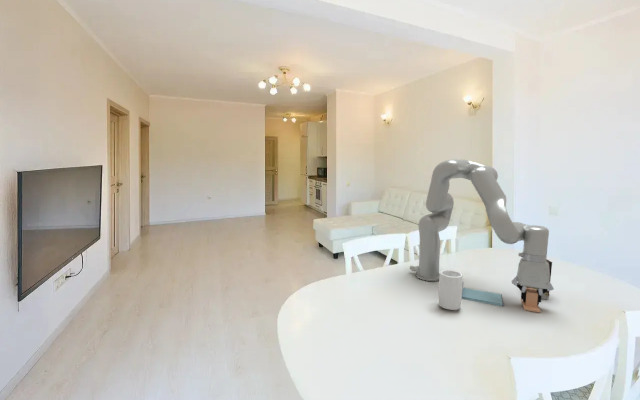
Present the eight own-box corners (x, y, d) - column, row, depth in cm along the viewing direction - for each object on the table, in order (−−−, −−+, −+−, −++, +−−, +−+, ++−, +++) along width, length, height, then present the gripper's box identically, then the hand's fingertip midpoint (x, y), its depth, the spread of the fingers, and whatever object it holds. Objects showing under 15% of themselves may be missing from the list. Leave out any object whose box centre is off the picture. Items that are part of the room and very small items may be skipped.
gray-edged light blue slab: (453, 298, 126) (454, 291, 126) (455, 287, 138) (456, 280, 137) (503, 308, 118) (504, 300, 118) (501, 295, 129) (502, 288, 129)
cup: (460, 304, 121) (461, 270, 119) (462, 314, 113) (464, 278, 111) (437, 301, 124) (438, 268, 122) (438, 311, 116) (439, 275, 114)
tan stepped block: (524, 309, 116) (525, 294, 115) (521, 299, 125) (522, 284, 124) (540, 312, 114) (541, 297, 113) (535, 301, 122) (537, 287, 122)
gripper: (510, 257, 117) (506, 301, 120) (563, 263, 110) (558, 311, 112) (508, 252, 124) (505, 294, 126) (558, 257, 116) (554, 302, 118)
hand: (530, 301), depth 119 cm, fingers closed on tan stepped block, 3 cm apart
